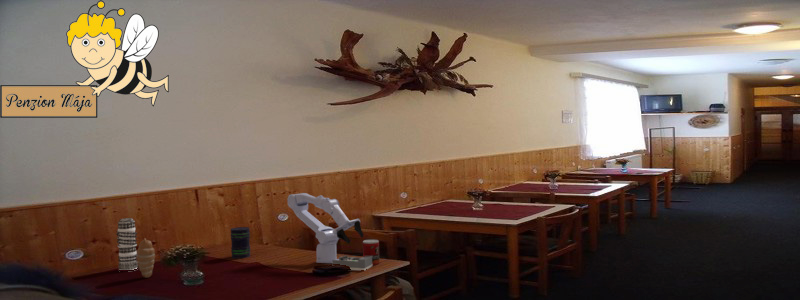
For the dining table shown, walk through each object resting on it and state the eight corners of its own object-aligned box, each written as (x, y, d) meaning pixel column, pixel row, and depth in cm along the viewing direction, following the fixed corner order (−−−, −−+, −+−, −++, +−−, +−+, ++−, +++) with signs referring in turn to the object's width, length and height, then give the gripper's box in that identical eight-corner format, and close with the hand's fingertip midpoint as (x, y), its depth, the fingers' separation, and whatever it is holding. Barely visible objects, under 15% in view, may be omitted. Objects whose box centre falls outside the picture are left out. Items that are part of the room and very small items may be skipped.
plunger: (339, 265, 278) (339, 258, 278) (345, 263, 284) (345, 255, 284) (348, 266, 276) (348, 258, 276) (354, 263, 283) (353, 255, 282)
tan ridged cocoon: (138, 276, 275) (136, 237, 274) (156, 274, 277) (154, 236, 277) (136, 280, 266) (135, 240, 266) (155, 278, 269) (154, 239, 269)
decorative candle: (113, 271, 288) (111, 219, 288) (130, 267, 297) (128, 217, 296) (126, 272, 284) (124, 220, 284) (142, 268, 292) (140, 217, 292)
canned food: (372, 265, 282) (372, 242, 282) (360, 264, 287) (359, 241, 287) (382, 262, 288) (382, 240, 288) (370, 261, 293) (369, 239, 293)
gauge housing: (331, 269, 278) (330, 258, 278) (339, 264, 288) (339, 254, 287) (364, 270, 273) (364, 259, 273) (372, 265, 282) (372, 255, 282)
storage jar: (230, 256, 317) (229, 228, 317) (248, 254, 321) (247, 226, 321) (233, 259, 308) (232, 230, 308) (252, 257, 312) (251, 228, 312)
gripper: (328, 219, 282) (344, 240, 275) (354, 208, 289) (369, 228, 283) (327, 228, 287) (342, 249, 280) (352, 216, 294) (367, 236, 288)
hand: (356, 239), depth 282 cm, fingers open, 7 cm apart
